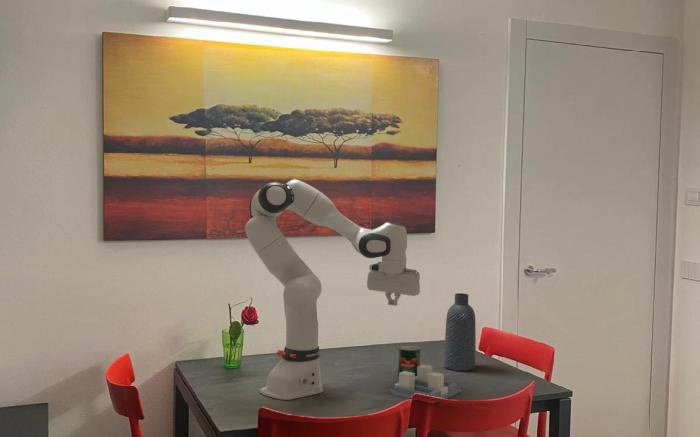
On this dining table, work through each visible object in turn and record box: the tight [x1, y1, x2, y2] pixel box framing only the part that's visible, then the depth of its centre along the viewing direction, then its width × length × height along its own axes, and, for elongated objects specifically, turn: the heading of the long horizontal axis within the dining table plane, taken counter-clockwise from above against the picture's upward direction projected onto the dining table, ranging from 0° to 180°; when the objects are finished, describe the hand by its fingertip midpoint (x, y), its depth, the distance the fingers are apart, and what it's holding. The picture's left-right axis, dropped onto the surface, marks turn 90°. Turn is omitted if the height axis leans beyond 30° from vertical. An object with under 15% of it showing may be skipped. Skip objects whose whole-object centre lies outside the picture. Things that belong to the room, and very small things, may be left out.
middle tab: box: [428, 371, 445, 390], centre depth 262 cm, size 4×4×6 cm
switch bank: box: [390, 376, 461, 399], centre depth 264 cm, size 17×17×3 cm
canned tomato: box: [397, 344, 421, 378], centre depth 283 cm, size 8×8×11 cm
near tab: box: [398, 371, 415, 390], centre depth 262 cm, size 4×4×6 cm
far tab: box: [417, 364, 434, 382], centre depth 271 cm, size 4×4×6 cm
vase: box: [443, 292, 477, 372], centre depth 297 cm, size 12×12×28 cm
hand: (392, 305), depth 281 cm, fingers closed
